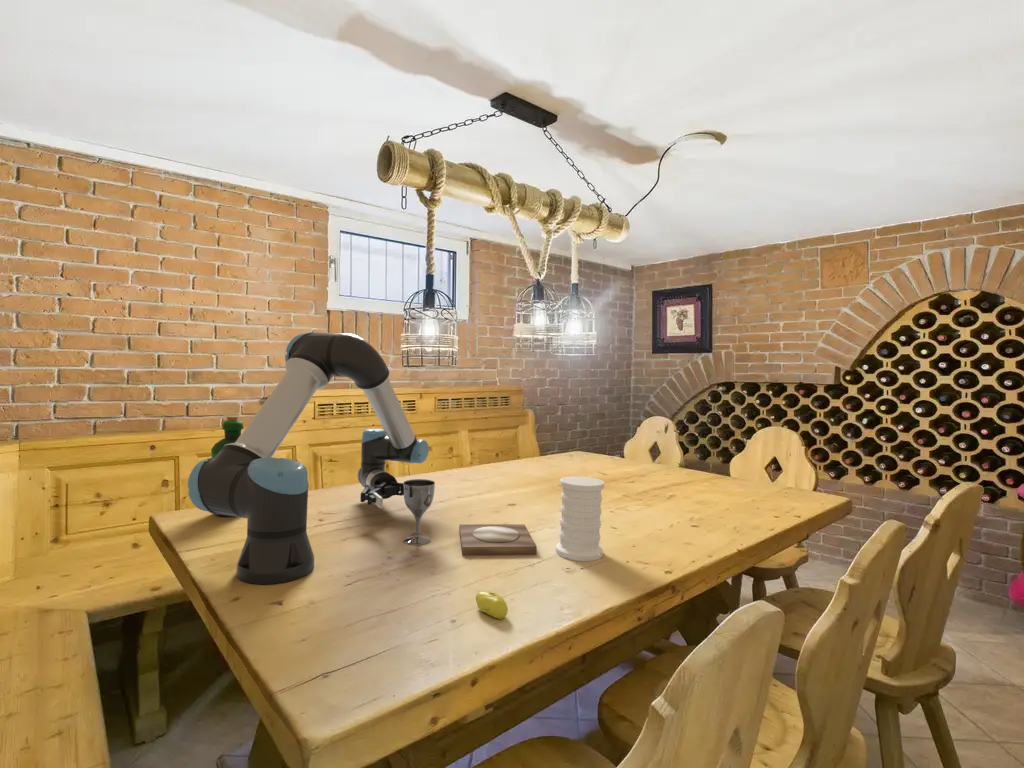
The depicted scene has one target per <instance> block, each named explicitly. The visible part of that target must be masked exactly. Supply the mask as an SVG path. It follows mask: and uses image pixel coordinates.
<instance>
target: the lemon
mask: <svg viewBox="0 0 1024 768" xmlns="http://www.w3.org/2000/svg"><path fill="white" fill-rule="evenodd" d="M475 602H476V606H477V608H478V610H479V611H480V612H483V613H485V614H487V615H488V616H490V617H493V618H495V619H497V620H502V619H504V618H505V617H506V616H507V614H508V611H509V610H508V609H509V608H508V605H507V602H506V601H505V599H504V598H503V597H502V596H501V595H499V594H497V593H495V592H492V591H484V590H482V591H479V592H478V593H476V595H475Z"/></svg>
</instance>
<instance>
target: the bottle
mask: <svg viewBox="0 0 1024 768" xmlns="http://www.w3.org/2000/svg"><path fill="white" fill-rule="evenodd" d="M221 430H223V431H224V438H222V439H220V440H218V441H217V442H216V443H214V444H213V446H212V447H211V452H210V453H211V458H215V457H216V456H217V455H218V453H219V452H220V451H221V449H222V448H223V447H224V446H225V445H226V444H230V443H235V442H236V441H237V439H238V438H239V437H240V435H241V434H242V430H245V428H244V424H243V420H240V416H239V415H227V416H226V420H224V421H223V424H222V427H221ZM215 515H216V516H219V517H230V516H229V515H222V514H215Z"/></svg>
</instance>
